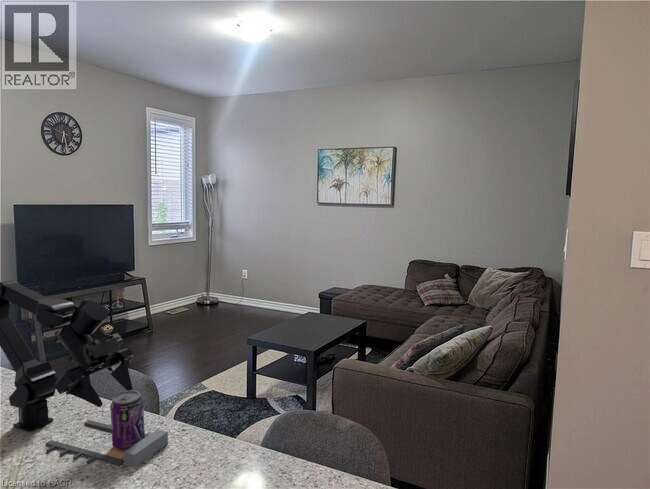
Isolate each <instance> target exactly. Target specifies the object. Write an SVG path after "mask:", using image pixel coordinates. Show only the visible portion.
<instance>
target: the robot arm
mask: <svg viewBox="0 0 650 489" xmlns="http://www.w3.org/2000/svg"><path fill="white" fill-rule="evenodd" d="M11 304H13V305H15V306H17V307H19V308H22V309H23V310H25V311H27V312H29V313H31V314H33V315H34V317H35V321H36V322H37V323H39V324H40V325H42V326H43V327H44V328H46V329H48V330H51V329H55V328H60V327H61V329H60V330H56V331H54V336H53V339H52V340H53V341H52V343H53V344H57V343H61V344H62V346H64V348H65V349H66V351H67V352H68V355H69V357H68V358H67V359H68V361H69V363H72V362H75V364H76V366H75V367H73V368H70V369H67V370H65V372H64V373H63V374H61V376H60V377H59V378H58V377H57V372H56V371H55V370H54V369H53V368H52V365H51V364H50V362H49V361H47V360H46V361H44V362H40V361H38V360H37V359H36V358H35V356H34V355H33V352H32V351H31V349H30V348H29V346H28V345H27V343H26V341H25V339H24V338H23V336H22V335H21V333H20V332H19V330H18V328H17V327H16V325H15V323H14V322H13V320H12V318H11V317H10V311H11ZM108 316H109V311H108V309H107V307H106V306H104V305H103V304H101V303H99V302H97V301H93V299H92V298H85V299H83V300H82V301H81V302H80V304H79V305H76V303H74V302H72V301H70V300H66V299H62V298H51V297H47V296H45V295H43V294H42V293H40V292H39V293H38V292H37V291H34V290H33V289H31V288H29V287H27V286H24V285H22V284H21V283H20V282H19V281H17V280H14V279H13V280H12V279H11V280H5V281H0V348H1V350H2V352H3V353H4V355H5V356H6V359H7V360H8V362H9V363H10V365H11V366H12V369H13V370H14V372H15V375H14V376H15V377H14V384H13V385H14V386H15V390H14V391H13V392H12V393H11V394H10V395H9V397H8V401H9V405H10V406H11V407H14V408H18V422H16V423H13V424H12V427H13V428H15V429H19V430H23V431H28V432H33V431H35V430H37V429H39V428H41V427H43V426H45V425H47V424H49V423H51V422H54V418H52V417H49V406H48V399H49V398H51V397H54V396H55V393H56V391H57V392H58V394H59V395H62V394H64V393H65V395H66V396H68V395H71V396H73V397H76V398H79V399H80V400H81V399H82V400H84V401H86V402H87V403H90V404H92V405H94V406H96V407H98V408H100V407H102V406H103V405H104V404H103V401H102V400H101V398H100V396H99V394H98V393H97V392H96V390H95V388H94V387H93V386H92V383H91V376H93V375H96V374H97V373H100V372H102V371H105V370H108V371H110V372H111V373H110V376H111V377H112V378H113V379H114V380H116V381H117V383H119V385H121V387H122V388H124V389H125V391H133V384H132V381H131V377H130V372H129V367H130V366H129V365H130V363H131V362H132V358H133V357H134V356H135V354H134V353H133V352H132V350H131V348H127V347H125V348H122V349H121V347H120V346H123V344H124V341H123V338H122V336H121V335H120V334H119V333H118V332H117V333H113V334H111V335H108V336H107V340H104V341H100V340H99V339H95V340H93V338H92V337H91V335H92V334H94V333H95V332H97V329H98V328H99V327H100V326H101V325H103V323H104V322H105V321H106V319H108ZM62 326H63V327H62ZM113 352H114V353H113ZM112 353H113V354H112ZM109 357H110V358H109ZM107 358H108V359H107Z"/></svg>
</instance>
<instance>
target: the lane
mask: <svg viewBox="0 0 650 489" xmlns="http://www.w3.org/2000/svg"><path fill="white" fill-rule="evenodd" d="M84 425H85V426H88V427H92V428H96V429H100V430H103V431H106V432H107V431H108V432H111V433H112V427H111V424H107V423H102V422H98V421H96V420H95V421H94V420H91V419H88V420H87V421H84ZM168 435H169V434H168V431H167V430H161V429H158V428H157V429H156V430H154V431H153V432H151V433H150V434H148V433H145V438H144V439H142V440H141V441H139V442H138V443H136V444H135V445H133V446H132V447H130V448H129V449H127V450H122V449H116V448H114V447H113V448H111V449H110V450H108V451H106V452H105V453H99V452H97V451H92V450H90V449H86V448H83V447H79V446H75V445H71V444H67V443H64V442H59V441H57V440H52V439H50V440H49V441H47V442H45V446H47V447H48V448H47V449H46V453H50V452H52V451H54V450H56V449H57V450H59V451H61V452H59V456H60V457H63V456H65V455H66V454H68V453H72V454H75V455H74V456H72V460H73V461H76V460H77V459H79V458H81V457H85V458H89V459H87V460H86V464H87V465H89V464H91V463H93V462H94V461H100V462H103V463H106V464H110V465H114V466H118V467H121V466H122V465H124V466H126V467H130V468H133V469H135V468H136V467H138V466H139V465H140V464H142V463H143V462H145V461H146V460H148V459H149V458H150V457H152V456H153V455H154V454H155V453H157V452H158V451H160V450H161V449H162V448H164V447H165V446H167V445H168V442H169V438H168Z"/></svg>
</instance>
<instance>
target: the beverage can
mask: <svg viewBox="0 0 650 489" xmlns="http://www.w3.org/2000/svg"><path fill="white" fill-rule="evenodd" d="M111 400H112V401H111V403H110V406H109V407H110V425H111V427H112V432H111V442H112V444H111V445H112V446H113V448H116V449H122V450H127V449H129V448H130V447H132V446H133V445H135V444H136V443H138V442H139V441H141V440H142V439H144V438H145V434H146V432H145V417H144V416H145V414H144V413H145V412H144V400H143V398H142V396H141V392H139V391H137V390H132V391H127V390H123V391H120V392H118V393H116V394H115V395H113V396H112V398H111Z"/></svg>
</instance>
